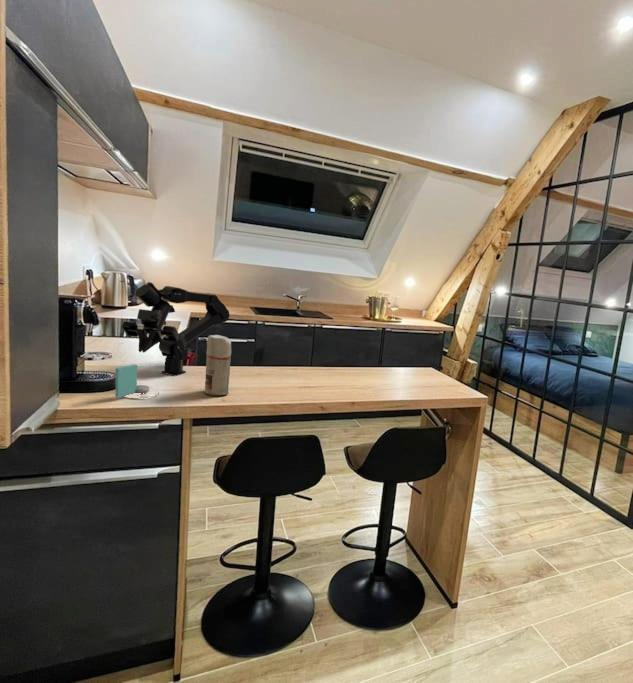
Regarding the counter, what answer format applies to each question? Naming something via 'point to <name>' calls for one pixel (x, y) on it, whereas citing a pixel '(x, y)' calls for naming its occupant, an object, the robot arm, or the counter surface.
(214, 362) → the spray can
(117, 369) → the teal panel
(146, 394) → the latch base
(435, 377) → the counter surface
